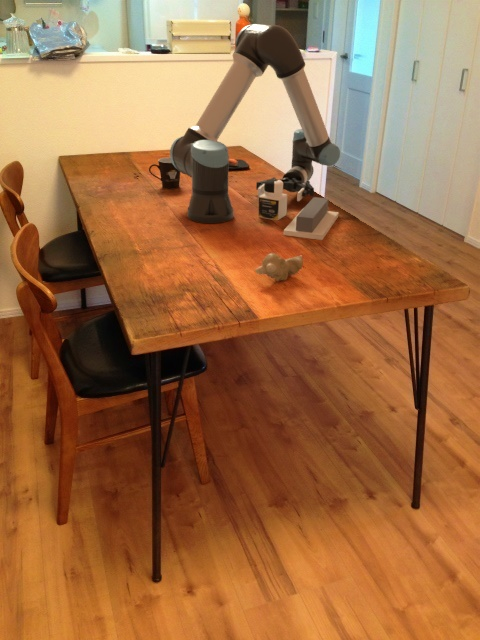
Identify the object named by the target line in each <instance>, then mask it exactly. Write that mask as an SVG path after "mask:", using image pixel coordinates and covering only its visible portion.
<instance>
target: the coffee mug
mask: <svg viewBox="0 0 480 640" xmlns="http://www.w3.org/2000/svg"><path fill="white" fill-rule="evenodd" d="M157 161H158V164H154V163H153V164H151V165H150V166H149V168H148V172H149V173H150V175H151V176H153V177H154V178H156V179H158V180H160V182H161V185H162V188H163V189H166V190H167V189H168V190H170V189H171V190H173V189H177V188H180V183H181V182H180V181H181V172H180V171H179V170H178V169H176V168H175V167H174V165H173V164H172V162H171V158H170V157H162V158H159V159H157ZM152 167H157V168H158V170H159V174H160V177H158V176H157V175H155V174H153V172H152V171H151V169H152Z"/></svg>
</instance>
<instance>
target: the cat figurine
mask: <svg viewBox="0 0 480 640" xmlns="http://www.w3.org/2000/svg"><path fill="white" fill-rule="evenodd" d="M303 262H304V261H303V255H302V254H300V255H298V256H293V257H290V258H287V259H285V258H284V257H281V256H279V255H278V254H277V253H275V252H271V253H268V254H267V255H265V257H264V258H263V260H262V261H261V266H258V267H257V268H255V269H254V272H255V273H256V274H258V275H267V277H269V278H272V279H274V280H275V281H276V282H281V281H287V279H288V276H293V275H294V276H295V275H297V273H298V272H299V271H300V270H302V268H303V265H304V263H303Z"/></svg>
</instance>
